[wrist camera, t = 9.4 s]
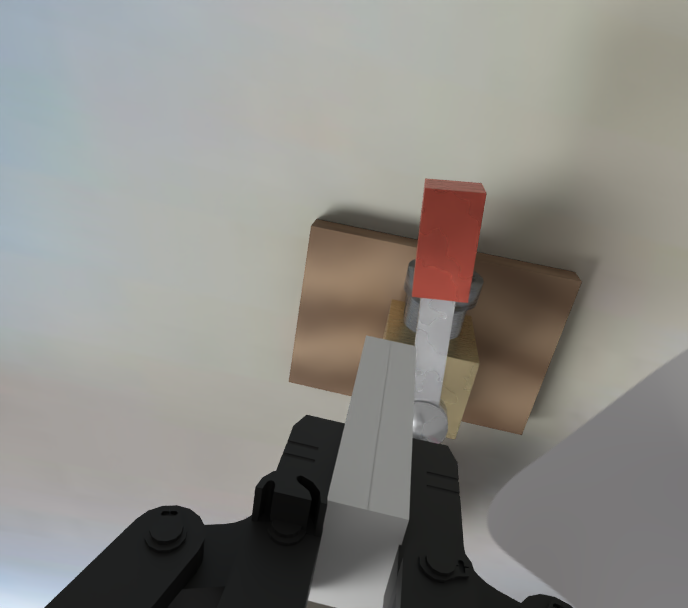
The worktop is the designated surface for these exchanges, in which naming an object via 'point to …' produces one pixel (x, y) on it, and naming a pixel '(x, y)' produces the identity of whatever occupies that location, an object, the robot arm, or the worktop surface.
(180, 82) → the worktop surface
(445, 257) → the valve lever
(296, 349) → the base board
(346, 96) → the worktop surface
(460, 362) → the valve body
